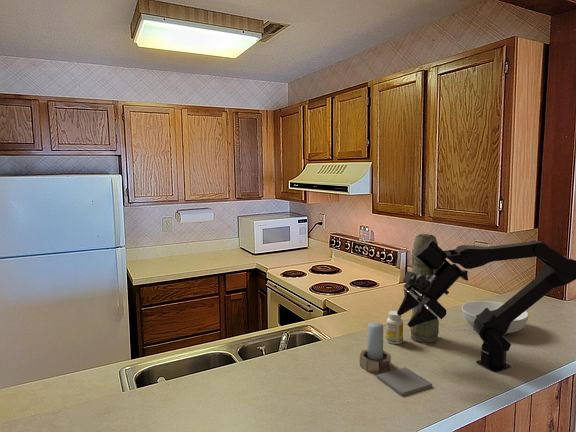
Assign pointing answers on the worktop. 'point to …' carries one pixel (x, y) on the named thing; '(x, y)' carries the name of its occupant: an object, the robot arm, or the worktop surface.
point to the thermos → (430, 329)
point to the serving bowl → (478, 306)
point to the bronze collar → (375, 362)
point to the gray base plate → (404, 381)
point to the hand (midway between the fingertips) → (403, 320)
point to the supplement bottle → (394, 328)
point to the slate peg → (375, 341)
